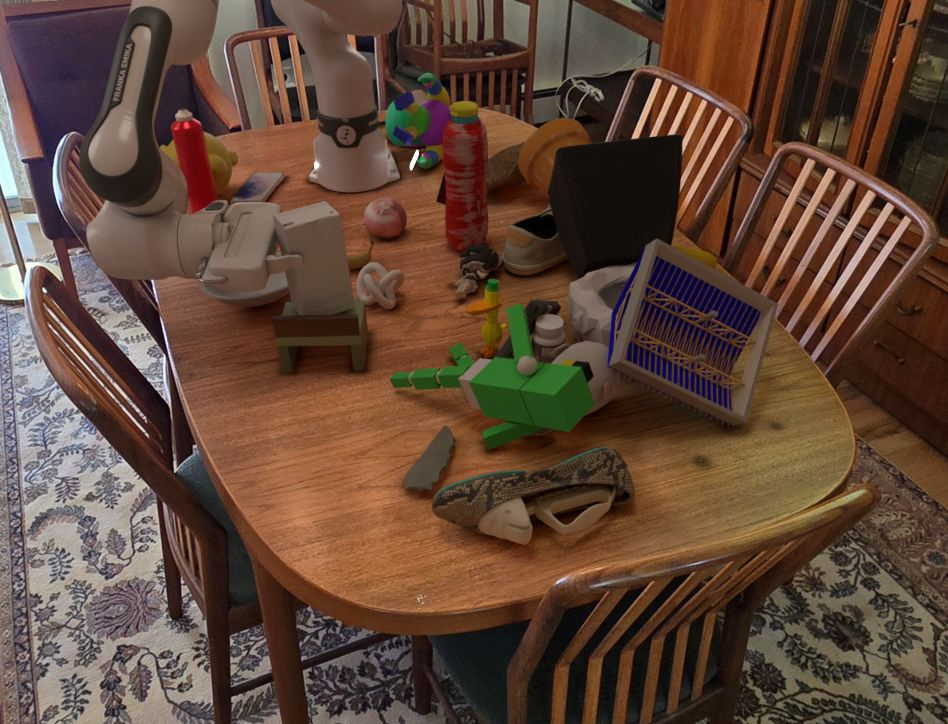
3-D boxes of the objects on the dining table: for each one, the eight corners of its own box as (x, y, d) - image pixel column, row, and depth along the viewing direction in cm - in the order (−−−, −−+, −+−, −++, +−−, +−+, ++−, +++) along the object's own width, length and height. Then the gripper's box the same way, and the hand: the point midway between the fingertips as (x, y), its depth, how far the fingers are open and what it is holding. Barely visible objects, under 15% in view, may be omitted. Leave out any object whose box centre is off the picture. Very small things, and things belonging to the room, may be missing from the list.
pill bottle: (528, 362, 127) (530, 313, 121) (560, 360, 127) (563, 311, 122) (533, 381, 124) (535, 331, 118) (565, 379, 124) (569, 329, 118)
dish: (288, 269, 149) (283, 242, 146) (327, 303, 140) (323, 275, 137) (192, 300, 142) (184, 273, 138) (227, 338, 133) (220, 310, 130)
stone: (400, 497, 107) (434, 499, 104) (394, 485, 106) (429, 487, 103) (442, 433, 115) (474, 434, 113) (437, 422, 114) (470, 422, 111)
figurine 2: (485, 304, 139) (514, 255, 148) (466, 270, 135) (498, 223, 145) (451, 313, 143) (482, 266, 152) (432, 280, 139) (464, 234, 149)
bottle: (215, 208, 168) (192, 102, 154) (225, 218, 164) (202, 110, 151) (188, 215, 166) (162, 108, 152) (198, 225, 162) (172, 117, 149)
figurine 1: (418, 67, 167) (477, 81, 182) (364, 69, 174) (425, 82, 190) (414, 167, 173) (472, 172, 188) (362, 164, 180) (422, 169, 196)
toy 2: (588, 316, 115) (579, 365, 123) (503, 371, 109) (499, 419, 118) (643, 360, 111) (630, 408, 119) (557, 420, 105) (550, 466, 114)
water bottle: (425, 237, 158) (418, 96, 141) (460, 226, 161) (457, 86, 145) (463, 262, 151) (460, 116, 134) (499, 249, 154) (500, 105, 137)
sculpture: (235, 193, 164) (239, 207, 177) (236, 125, 162) (239, 144, 175) (153, 187, 160) (162, 201, 174) (152, 117, 159) (162, 137, 172)
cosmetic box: (342, 294, 131) (327, 198, 121) (357, 310, 126) (343, 212, 117) (289, 308, 128) (270, 211, 118) (303, 325, 124) (284, 225, 114)
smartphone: (228, 201, 168) (253, 172, 180) (229, 206, 169) (254, 176, 180) (262, 201, 167) (285, 171, 178) (263, 206, 168) (286, 176, 179)
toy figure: (473, 366, 126) (472, 293, 118) (462, 354, 129) (460, 282, 121) (512, 353, 129) (514, 281, 121) (500, 342, 131) (501, 270, 123)
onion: (367, 246, 156) (363, 208, 151) (362, 227, 161) (358, 190, 156) (410, 241, 157) (408, 204, 152) (404, 223, 162) (402, 186, 158)
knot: (345, 307, 140) (341, 274, 136) (372, 285, 145) (369, 253, 141) (385, 318, 137) (382, 285, 133) (410, 295, 142) (408, 263, 138)
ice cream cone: (449, 118, 201) (425, 89, 210) (434, 109, 198) (410, 79, 206) (437, 136, 203) (413, 106, 212) (422, 126, 200) (399, 96, 208)
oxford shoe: (635, 228, 159) (641, 183, 154) (534, 286, 144) (536, 239, 138) (588, 211, 165) (592, 167, 159) (486, 265, 149) (486, 219, 144)
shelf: (291, 335, 133) (282, 284, 127) (368, 334, 133) (362, 282, 127) (282, 372, 126) (271, 319, 120) (363, 370, 126) (357, 317, 120)
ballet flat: (431, 472, 95) (460, 540, 90) (625, 428, 102) (661, 489, 97) (426, 515, 102) (452, 580, 97) (608, 470, 109) (641, 529, 104)
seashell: (513, 152, 183) (547, 118, 169) (530, 192, 184) (566, 162, 170) (438, 175, 175) (468, 141, 161) (457, 217, 176) (488, 187, 162)
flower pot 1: (619, 153, 154) (586, 106, 159) (548, 180, 152) (517, 132, 157) (612, 208, 167) (581, 164, 172) (547, 234, 165) (518, 189, 170)
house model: (617, 366, 107) (591, 377, 113) (744, 427, 112) (713, 434, 119) (658, 233, 110) (631, 251, 117) (779, 299, 116) (747, 312, 123)
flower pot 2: (698, 241, 125) (683, 130, 126) (570, 256, 125) (556, 144, 126) (670, 278, 144) (657, 182, 145) (558, 291, 144) (546, 194, 145)
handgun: (512, 361, 138) (551, 297, 135) (524, 369, 138) (563, 304, 135) (482, 370, 120) (526, 295, 117) (496, 378, 120) (541, 304, 116)
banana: (330, 281, 146) (327, 260, 143) (322, 276, 147) (319, 255, 145) (379, 263, 151) (377, 242, 148) (371, 258, 152) (369, 237, 149)
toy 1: (466, 370, 131) (627, 392, 110) (402, 431, 124) (561, 466, 103) (430, 291, 123) (596, 299, 102) (360, 351, 116) (522, 372, 95)
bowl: (606, 398, 120) (614, 337, 113) (540, 327, 134) (543, 269, 127) (729, 364, 126) (743, 304, 119) (654, 299, 140) (662, 242, 133)
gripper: (186, 260, 110) (294, 258, 111) (218, 194, 126) (312, 192, 126) (197, 304, 115) (301, 301, 115) (226, 235, 130) (318, 233, 130)
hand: (307, 244), depth 120 cm, fingers open, 8 cm apart
